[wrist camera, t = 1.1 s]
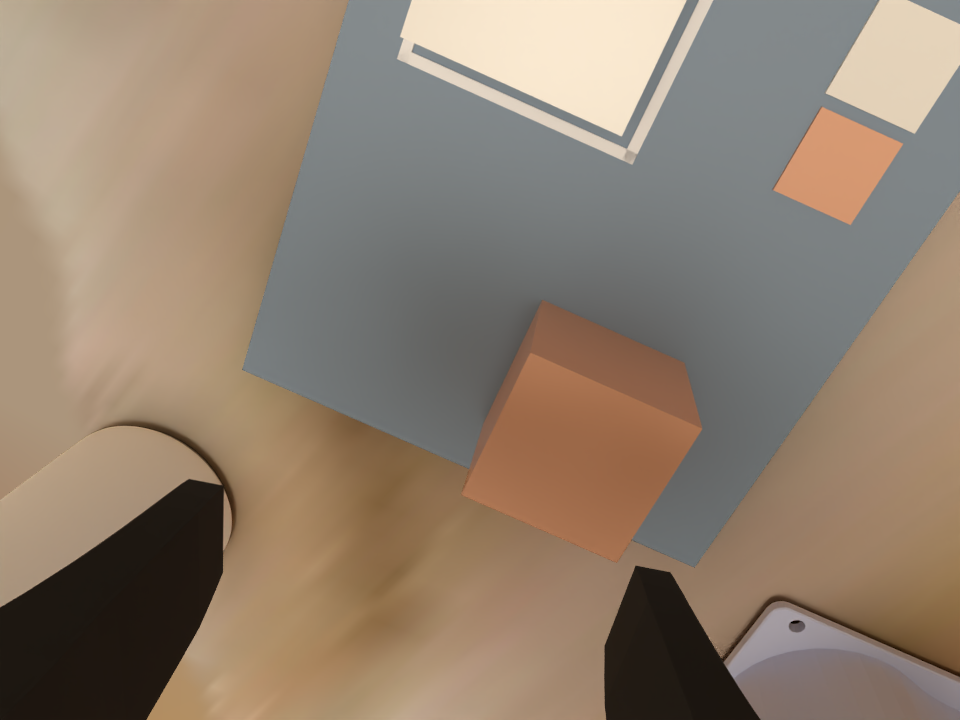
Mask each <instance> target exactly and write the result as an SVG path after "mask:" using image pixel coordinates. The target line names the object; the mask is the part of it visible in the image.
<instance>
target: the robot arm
mask: <svg viewBox="0 0 960 720" xmlns="http://www.w3.org/2000/svg"><path fill="white" fill-rule="evenodd" d="M223 521H224V486H223V485H218V484H213V483H208V482H203V481H198V480H192V479H188V480H186V481H185V482H183V483H182V484H180V485H179V486H177V487H176V488H175V489H173V490H172V491H171V492H169V493H168V494H167V495H165V496H164V497H163V498H161V499H160V500H159V501H157V502H156V503H155V504H153V505H152V506H151V507H149V508H148V509H147V510H145V511H144V512H143V513H141V514H140V515H139V516H137V517H136V518H134V519H133V520H132V521H130V522H129V523H128V524H126V525H125V526H123V527H122V528H121V529H119V530H118V531H117V532H115V533H114V534H112V535H111V536H109V537H108V538H107V539H105V540H104V541H102V542H101V543H99V544H98V545H97V546H95V547H94V548H92V549H91V550H89V551H88V552H87V553H85V554H84V555H82V556H81V557H79V558H78V559H76V560H75V561H73V562H72V563H70V564H69V565H67V566H66V567H64V568H63V569H61V570H59V571H58V572H56V573H55V574H53V575H52V576H50V577H48V578H47V579H45V580H44V581H42V582H41V583H39V584H38V585H36V586H34V587H33V588H31V589H30V590H28V591H27V592H25V593H23V594H22V595H20V596H18V597H17V598H15V599H13V600H12V601H10V602H8V603H6V604H5V605H3V606H1V607H0V720H146V719H147V718H148V716H149V714H150V712H151V711H152V709H153V707H154V706H155V704H156V702H157V700H158V699H159V697H160V695H161V693H162V692H163V690H164V688H165V686H166V685H167V683H168V681H169V679H170V678H171V676H172V675H173V673H174V671H175V669H176V668H177V666H178V664H179V662H180V661H181V659H182V657H183V655H184V654H185V652H186V650H187V648H188V647H189V645H190V643H191V641H192V640H193V638H194V636H195V634H196V632H197V631H198V629H199V627H200V625H201V623H202V620H203V618H204V616H205V614H206V611H207V609H208V607H209V604H210V602H211V600H212V597H213V595H214V593H215V590H216V588H217V585H218V583H219V581H220V578H221V576H222V573H223ZM794 620H800V622H799V623H796V624H791V623H790V622H792V621H794ZM604 681H605V711H606V720H960V677H958V676H956V675H954V674H951V673H949V672H947V671H944V670H942V669H940V668H938V667H935V666H933V665H931V664H928V663H926V662H924V661H922V660H919V659H917V658H915V657H912V656H910V655H908V654H906V653H903V652H901V651H899V650H896V649H894V648H892V647H889V646H887V645H885V644H883V643H880V642H878V641H876V640H873V639H871V638H869V637H867V636H864V635H862V634H860V633H857V632H855V631H853V630H851V629H848V628H846V627H844V626H841V625H839V624H837V623H835V622H832V621H830V620H828V619H825V618H823V617H821V616H819V615H816V614H814V613H812V612H809V611H807V610H805V609H803V608H800V607H798V606H796V605H793V604H791V603H789V602H785V601H777V602H774V603H771V604H770V605H769V606H768V607H767V608H766V609H765V610H764V612H763V613H762V614H761V616H760V617H759V618H758V619H757V621H756V622H755V623H754V624H753V626H752V627H751V628H750V629H749V631H748V632H747V633H746V635H745V636H744V637H743V638H742V640H741V641H740V642H739V643H738V645H737V646H736V647H735V648H734V650H733V651H732V652H731V654H730V655H729V656H728V657H727V659H726V660H725V661H724V662H723V661H722V659H721V658H720V656H719V655H718V653H717V651H716V650H715V648H714V646H713V645H712V643H711V641H710V640H709V638H708V636H707V634H706V633H705V631H704V629H703V628H702V626H701V624H700V623H699V621H698V619H697V617H696V616H695V614H694V612H693V610H692V609H691V607H690V605H689V603H688V602H687V600H686V598H685V596H684V595H683V593H682V591H681V589H680V588H679V586H678V584H677V582H676V581H675V579H674V577H673V576H672V574H671V573H670V572H665V571H660V570H655V569H650V568H645V567H640V566H635V569H634V571H633V574H632V577H631V579H630V582H629V584H628V587H627V590H626V592H625V595H624V597H623V600H622V603H621V605H620V608H619V610H618V613H617V616H616V618H615V621H614V623H613V626H612V628H611V631H610V634H609V636H608V639H607V641H606V644H605V673H604Z"/></svg>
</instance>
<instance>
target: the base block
mask: <svg viewBox="0 0 960 720" xmlns="http://www.w3.org/2000/svg"><path fill="white" fill-rule="evenodd" d="M686 1H687V0H412V1H411V4H410V7H409V10H408V13H407V16H406V19H405V23H404V26H403V29H402V32H401V35H400V37H402V38H404V39H406V40H408V41H411V42H413V43H415V44H417V45H420V46H422V47H424V48H426V49H428V50H431V51H433V52H435V53H437V54H440V55H442V56H444V57H446V58H448V59H451V60H453V61H455V62H457V63H460V64H462V65H464V66H466V67H468V68H471V69H473V70H475V71H477V72H480V73H482V74H484V75H486V76H488V77H491V78H493V79H495V80H497V81H500V82H502V83H504V84H506V85H508V86H511V87H513V88H515V89H517V90H520V91H522V92H524V93H526V94H528V95H531V96H533V97H535V98H537V99H539V100H542V101H544V102H546V103H548V104H551V105H553V106H555V107H557V108H559V109H562V110H564V111H566V112H568V113H571V114H573V115H575V116H577V117H579V118H582V119H584V120H586V121H588V122H591V123H593V124H595V125H597V126H599V127H602V128H604V129H606V130H608V131H611V132H613V133H615V134H617V135H619V136H622V135H623V133H624V131H625V129H626V126H627V124H628V122H629V120H630V118H631V116H632V114H633V112H634V110H635V108H636V106H637V103H638V101H639V99H640V97H641V95H642V93H643V91H644V89H645V87H646V85H647V82H648V80H649V78H650V76H651V74H652V72H653V70H654V68H655V66H656V64H657V62H658V59H659V57H660V55H661V53H662V51H663V49H664V47H665V45H666V43H667V41H668V38H669V36H670V34H671V32H672V30H673V28H674V26H675V24H676V22H677V20H678V18H679V15H680V13H681V11H682V9H683V7H684V5H685V3H686Z"/></svg>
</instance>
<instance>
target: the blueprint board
mask: <svg viewBox="0 0 960 720" xmlns="http://www.w3.org/2000/svg"><path fill="white" fill-rule="evenodd" d="M411 1H412V0H349V2H348V5H347V9H346V12H345V16H344V19H343V23H342V26H341V30H340V33H339V36H338V40H337V43H336V47H335V50H334V54H333V57H332V61H331V64H330V68H329V71H328V75H327V78H326V81H325V85H324V88H323V92H322V95H321V99H320V102H319V106H318V109H317V113H316V116H315V120H314V123H313V126H312V130H311V133H310V137H309V140H308V144H307V147H306V151H305V154H304V158H303V161H302V165H301V168H300V171H299V175H298V178H297V182H296V185H295V189H294V192H293V196H292V199H291V203H290V206H289V210H288V213H287V216H286V220H285V223H284V227H283V230H282V234H281V237H280V241H279V244H278V248H277V251H276V255H275V258H274V261H273V265H272V268H271V272H270V275H269V279H268V282H267V286H266V289H265V293H264V296H263V300H262V303H261V306H260V310H259V313H258V317H257V320H256V324H255V327H254V331H253V334H252V338H251V341H250V345H249V348H248V351H247V355H246V358H245V362H244V365H243V369H242V370H244V371H246V372H248V373H251V374H253V375H255V376H257V377H260V378H262V379H264V380H267V381H269V382H271V383H273V384H276V385H278V386H280V387H283V388H285V389H287V390H289V391H292V392H294V393H296V394H299V395H301V396H303V397H305V398H308V399H310V400H312V401H315V402H317V403H319V404H322V405H324V406H326V407H328V408H331V409H333V410H335V411H338V412H340V413H342V414H344V415H347V416H349V417H351V418H354V419H356V420H358V421H360V422H363V423H365V424H367V425H370V426H372V427H374V428H376V429H379V430H381V431H383V432H386V433H388V434H390V435H392V436H395V437H397V438H399V439H402V440H404V441H406V442H408V443H411V444H413V445H415V446H418V447H420V448H422V449H424V450H427V451H429V452H431V453H434V454H436V455H438V456H440V457H443V458H445V459H447V460H450V461H452V462H454V463H456V464H459V465H461V466H463V467H466V468H468V469H469V468H470V465H471V462H472V458H473V455H474V452H475V449H476V446H477V442H478V439H479V436H480V433H481V429H482V426H483V423H484V421H485V419H486V417H487V415H488V413H489V411H490V409H491V406H492V404H493V402H494V400H495V398H496V396H497V394H498V392H499V390H500V388H501V385H502V383H503V381H504V379H505V377H506V375H507V373H508V371H509V369H510V367H511V364H512V362H513V360H514V358H515V356H516V354H517V352H518V350H519V348H520V346H521V343H522V341H523V339H524V337H525V335H526V333H527V331H528V329H529V327H530V325H531V322H532V320H533V318H534V316H535V314H536V312H537V310H538V308H539V306H540V304H541V301H542V300H544V301H546V302H549V303H551V304H553V305H555V306H558V307H560V308H562V309H564V310H567V311H569V312H571V313H573V314H576V315H578V316H580V317H582V318H585V319H587V320H589V321H591V322H594V323H596V324H598V325H600V326H603V327H605V328H607V329H609V330H612V331H614V332H616V333H618V334H621V335H623V336H625V337H627V338H630V339H632V340H634V341H636V342H639V343H641V344H643V345H645V346H648V347H650V348H652V349H654V350H657V351H659V352H661V353H663V354H666V355H668V356H670V357H672V358H675V359H677V360H679V361H681V362H684V363H685V367H686V370H687V374H688V378H689V381H690V385H691V389H692V392H693V396H694V400H695V403H696V407H697V411H698V414H699V418H700V422H701V425H702V430H701V432H700V433H699V435H698V437H697V438H696V440H695V441H694V443H693V444H692V446H691V448H690V449H689V451H688V452H687V454H686V455H685V457H684V459H683V460H682V462H681V463H680V465H679V466H678V468H677V469H676V471H675V473H674V474H673V476H672V477H671V479H670V480H669V482H668V484H667V485H666V487H665V488H664V490H663V491H662V493H661V495H660V496H659V498H658V499H657V501H656V502H655V504H654V505H653V507H652V509H651V510H650V512H649V513H648V515H647V516H646V518H645V520H644V521H643V523H642V524H641V526H640V527H639V529H638V531H637V532H636V534H635V535H634V537H633V538H632V540H633V541H635V542H637V543H639V544H642V545H644V546H646V547H649V548H651V549H653V550H655V551H658V552H660V553H662V554H665V555H667V556H669V557H672V558H674V559H676V560H678V561H681V562H683V563H685V564H688V565H690V566H692V567H694V568H695V566H696V565H697V563H698V562H699V560H700V559H701V558H702V556H703V555H704V553H705V552H706V550H707V549H708V548H709V546H710V545H711V543H712V542H713V541H714V539H715V538H716V536H717V535H718V533H719V532H720V531H721V529H722V528H723V526H724V525H725V524H726V522H727V521H728V519H729V518H730V516H731V515H732V514H733V512H734V511H735V509H736V508H737V507H738V505H739V504H740V502H741V501H742V499H743V498H744V497H745V495H746V494H747V492H748V491H749V489H750V488H751V487H752V485H753V484H754V482H755V481H756V480H757V478H758V477H759V475H760V474H761V472H762V471H763V470H764V468H765V467H766V465H767V464H768V463H769V461H770V460H771V458H772V457H773V455H774V454H775V453H776V451H777V450H778V448H779V447H780V445H781V444H782V443H783V441H784V440H785V438H786V437H787V436H788V434H789V433H790V431H791V430H792V428H793V427H794V426H795V424H796V423H797V421H798V420H799V419H800V417H801V416H802V414H803V413H804V411H805V410H806V409H807V407H808V406H809V404H810V403H811V401H812V400H813V399H814V397H815V396H816V394H817V393H818V392H819V390H820V389H821V387H822V386H823V384H824V383H825V382H826V380H827V379H828V377H829V376H830V375H831V373H832V372H833V370H834V369H835V367H836V366H837V365H838V363H839V362H840V360H841V359H842V358H843V356H844V355H845V353H846V352H847V350H848V349H849V348H850V346H851V345H852V343H853V342H854V340H855V339H856V338H857V336H858V335H859V333H860V332H861V331H862V329H863V328H864V326H865V325H866V323H867V322H868V321H869V319H870V318H871V316H872V315H873V314H874V312H875V311H876V309H877V308H878V306H879V305H880V304H881V302H882V301H883V299H884V298H885V296H886V295H887V294H888V292H889V291H890V289H891V288H892V287H893V285H894V284H895V282H896V281H897V279H898V278H899V277H900V275H901V274H902V272H903V271H904V270H905V268H906V267H907V265H908V264H909V262H910V261H911V260H912V258H913V257H914V255H915V254H916V252H917V251H918V250H919V248H920V247H921V245H922V244H923V243H924V241H925V240H926V238H927V237H928V235H929V234H930V233H931V231H932V230H933V228H934V227H935V226H936V224H937V223H938V221H939V220H940V218H941V217H942V216H943V214H944V213H945V211H946V210H947V208H948V207H949V206H950V204H951V203H952V201H953V200H954V199H955V197H956V196H957V194H958V193H959V191H960V0H687V1H686V3H685V5H684V7H683V9H682V11H681V13H680V15H679V18H678V20H677V22H676V24H675V26H674V28H673V30H672V32H671V34H670V36H669V38H668V41H667V43H666V45H665V47H664V49H663V51H662V53H661V55H660V57H659V59H658V62H657V64H656V66H655V68H654V70H653V72H652V74H651V76H650V78H649V80H648V82H647V85H646V87H645V89H644V91H643V93H642V95H641V97H640V99H639V101H638V103H637V106H636V108H635V110H634V112H633V114H632V116H631V118H630V120H629V122H628V124H627V126H626V129H625V131H624V133H623V135H622V136H619V135H617V134H615V133H613V132H611V131H608V130H606V129H604V128H602V127H599V126H597V125H595V124H593V123H591V122H588V121H586V120H584V119H582V118H579V117H577V116H575V115H573V114H571V113H568V112H566V111H564V110H562V109H559V108H557V107H555V106H553V105H551V104H548V103H546V102H544V101H542V100H539V99H537V98H535V97H533V96H531V95H528V94H526V93H524V92H522V91H520V90H517V89H515V88H513V87H511V86H508V85H506V84H504V83H502V82H500V81H497V80H495V79H493V78H491V77H488V76H486V75H484V74H482V73H480V72H477V71H475V70H473V69H471V68H468V67H466V66H464V65H462V64H460V63H457V62H455V61H453V60H451V59H448V58H446V57H444V56H442V55H440V54H437V53H435V52H433V51H431V50H428V49H426V48H424V47H422V46H420V45H417V44H415V43H413V42H411V41H408V40H406V39H404V38H402V37H400V35H401V32H402V29H403V26H404V23H405V19H406V16H407V13H408V10H409V7H410V4H411Z"/></svg>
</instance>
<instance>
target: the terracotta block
mask: <svg viewBox="0 0 960 720" xmlns="http://www.w3.org/2000/svg"><path fill="white" fill-rule="evenodd" d="M701 430H702V425H701V422H700V418H699V414H698V411H697V407H696V403H695V400H694V396H693V392H692V389H691V385H690V381H689V378H688V374H687V370H686V367H685V363H684V362H681V361H679V360H677V359H675V358H672V357H670V356H668V355H666V354H663V353H661V352H659V351H657V350H654V349H652V348H650V347H648V346H645V345H643V344H641V343H639V342H636V341H634V340H632V339H630V338H627V337H625V336H623V335H621V334H618V333H616V332H614V331H612V330H609V329H607V328H605V327H603V326H600V325H598V324H596V323H594V322H591V321H589V320H587V319H585V318H582V317H580V316H578V315H576V314H573V313H571V312H569V311H567V310H564V309H562V308H560V307H558V306H555V305H553V304H551V303H549V302H546V301H544V300H542V301H541V304H540V306H539V308H538V310H537V312H536V314H535V316H534V318H533V320H532V322H531V325H530V327H529V329H528V331H527V333H526V335H525V337H524V339H523V341H522V343H521V346H520V348H519V350H518V352H517V354H516V356H515V358H514V360H513V362H512V364H511V367H510V369H509V371H508V373H507V375H506V377H505V379H504V381H503V383H502V385H501V388H500V390H499V392H498V394H497V396H496V398H495V400H494V402H493V404H492V406H491V409H490V411H489V413H488V415H487V417H486V419H485V421H484V423H483V426H482V429H481V433H480V436H479V439H478V442H477V446H476V449H475V452H474V455H473V458H472V462H471V465H470V468H469V471H468V474H467V478H466V481H465V484H464V487H463V491H462V494H461V495H462V496H465V497H467V498H469V499H472V500H474V501H476V502H478V503H481V504H483V505H485V506H488V507H490V508H492V509H495V510H497V511H499V512H501V513H504V514H506V515H508V516H511V517H513V518H515V519H517V520H520V521H522V522H524V523H527V524H529V525H531V526H533V527H536V528H538V529H540V530H543V531H545V532H547V533H550V534H552V535H554V536H556V537H559V538H561V539H563V540H566V541H568V542H570V543H572V544H575V545H577V546H579V547H582V548H584V549H586V550H589V551H591V552H593V553H595V554H598V555H600V556H602V557H605V558H607V559H609V560H611V561H614V562H616V563H617V562H618V560H619V559H620V557H621V556H622V554H623V552H624V551H625V549H626V548H627V546H628V545H629V543H630V541H631V540H632V538H633V537H634V535H635V534H636V532H637V531H638V529H639V527H640V526H641V524H642V523H643V521H644V520H645V518H646V516H647V515H648V513H649V512H650V510H651V509H652V507H653V505H654V504H655V502H656V501H657V499H658V498H659V496H660V495H661V493H662V491H663V490H664V488H665V487H666V485H667V484H668V482H669V480H670V479H671V477H672V476H673V474H674V473H675V471H676V469H677V468H678V466H679V465H680V463H681V462H682V460H683V459H684V457H685V455H686V454H687V452H688V451H689V449H690V448H691V446H692V444H693V443H694V441H695V440H696V438H697V437H698V435H699V433H700V432H701Z"/></svg>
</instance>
